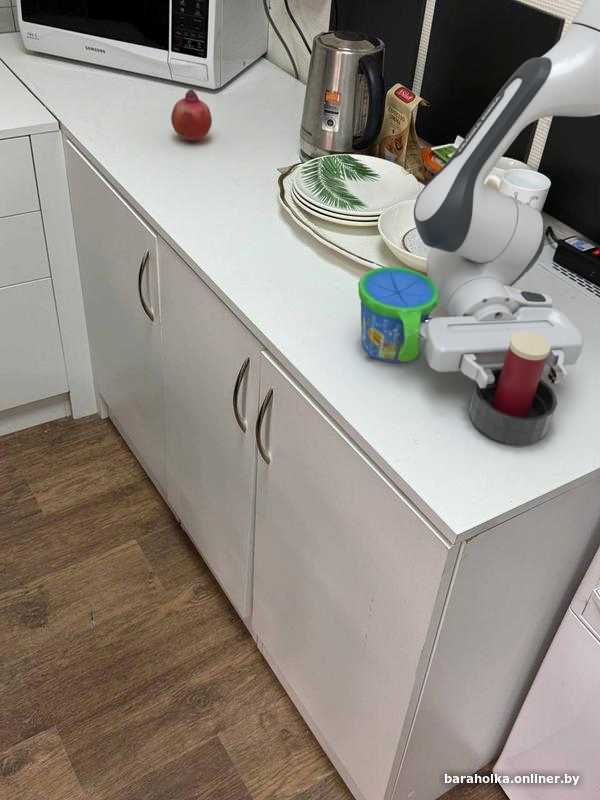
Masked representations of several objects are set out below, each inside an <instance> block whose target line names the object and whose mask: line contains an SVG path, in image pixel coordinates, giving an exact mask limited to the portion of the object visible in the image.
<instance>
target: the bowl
mask: <svg viewBox="0 0 600 800" xmlns="http://www.w3.org/2000/svg"><path fill="white" fill-rule="evenodd" d="M491 371H492V374H494V376H495V381H494V383H493V387H492V388H480V387H479V385H478V383H477V381H475V386H474V389H473V393H472V396H471V400H470V403H469V409H468V411H469V412H468V413H469V417H470V419H471V421H472V423H473V425H475V426H476V428H477V429H478V430H479V431H480V432H481V433H482V434H484V435H485V436H487V437H488V438H490V439H492V440H494V441H496V442H499V443H502V444H506V445H512V446H513V445H514V446H522V445H528V444H531V443H534V442H537V441H539V440H541V439H542V438H544V436H546V435H547V433H548V430H549V428H550V425H551V422H552V419H553V417H554V414H555V412H556V408H557V406H558V401H557V400H558V399H557V395H556V393H555V391H554V390H553V388H551V386H550V385H549V384H548V383H546V382H545V381H544V380H543V379H541V378H540V380H539V383H538V386H537V389H536V392H535V395H534V398H533V401H532V404H531V407H530V410H529V413H528V416H527V418H521V417H515V416H510V415H508V414H505V413H502V412H500V411H498V410H496V409H495V408H493V407H491V405H492V402H493V398H494V395H495V392H496V388H497V385H498V381H499V378H500V375H501V371H502V368H501V369H491Z"/></svg>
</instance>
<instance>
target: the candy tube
mask: <svg viewBox="0 0 600 800" xmlns="http://www.w3.org/2000/svg"><path fill="white" fill-rule="evenodd" d="M550 349H551V346H550V343H549V342H548V341H547V340H546V339H545V338H544V337H542V336H540V335H538V334H535V333H531V332H519V333H516V334H514V335H513V336H512V337H511V340H510V343H509V348H508V351H507V355H506V358H505V361H504V365H503V368H501V369H502V371H501V375H500V378H499V381H498V385H497V388H496V392H495V395H494V398H493V402H492V405H491V407H493V408H495V409H496V410H498V411H500V412H502V413H505V414H508V415H510V416H515V417H521V418H527V416H528V413H529V410H530V407H531V404H532V401H533V398H534V395H535V392H536V389H537V386H538V383H539V380H540V379H541V377H542V374H543V371H544V368H545V367H546V366H545V363H546V360H547V357H548V355H549V352H550Z"/></svg>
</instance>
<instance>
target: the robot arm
mask: <svg viewBox="0 0 600 800" xmlns="http://www.w3.org/2000/svg"><path fill="white" fill-rule="evenodd" d="M598 115H600V0H583V2H582V4H581V6H580V7H579V8H578V11H577V12H576V14H575V15H574V17H573V19H572V20H571V23H570V24H569V26H568V28H567V29H566V31H565V33H563V36H562V37H561V38H560V39H559V40H558V41H557V42H556V44H554V46H552V48H551V49H549V50H548V51H547V52H546V53H545V54H543V55H542V56H539V57H532V58H529V59H528V60H526V61H524V62H523V63H522V64H521V65H520V66H519V67H518V68H517V69H516V70H515V72H514V73H513V74H512V75H510V77H509V78H508V80H507V81H506V82H505V83H504V85H503V86H502V87H501V88H500V89H499V91H498V93H497V94H496V95H495V97H494V98H493V99H492V100H491V102H490V103H489V104H488V106H487V107H486V108H485V110H484V111H483V113H482V114H481V115H480V117H479V118H478V119H477V121H476V122H475V123H474V125H473V127H472V128H471V129H470V131H469V132H468V133H467V135H466V136H465V138H464V139H463V140H462V142H460V144H459V146H458V147H457V148H456V150H455V151H454V152H453V154H452V155H451V156H450V158H449V159H448V160H447V162H446V163H445V164H444V165H442V167H441V168H440V169H439V170H438V171H437V172H436V173H435V175H433V176H432V177H431V179H430V180H429V181H428V182H427V183H426V184H425V185H424V187H423V188H422V190H421V191H420V193H419V194H418V196H417V198H416V200H415V203H414V207H413V219H414V224H415V227H416V231H417V232H418V235H419V237H420V239H421V241H422V242H423V244H424V245H425V246H426V247H430V250H429V252H428V253H427V258H426V275H427V277H428V278H429V279H430V280H431V281H432V282H433V283H434V284H435V285H436V287H437V289H438V298H439V300H438V304H439V305H440V307H441V308H443V310H444V311H445V314H446V316H439V317H428V318H425V319H423V321H421V322H420V331H419V338H420V340H421V341H423V349H424V354H425V358H426V360H427V364H428V366H429V368H431V369H432V370H434V371H436V372H439V373H446V372H461V373H462V374H463V375H465V376H466V377H468V378H470V379H471V380H473V381H475V382H477V383H478V385H479V387H480V388H492V387H493V383H494V381H495V376H494V374H492V370H495V369H502V368H503V365H504V361H505V358H506V355H507V351H508V348H509V343H510V340H511V337H512V336H513V335H514V334H516V333H519V332H531V333H535V334H538V335H540V336H542V337H544V338H545V339H546V340H547V341H548V342H549V343H550V346H551V349H550V352H549V355H548V357H547V360H546V363H545V366H544V367H548V368H549V372H548V374H547V378H548V380H549V381H550V382H551V384H552V385H556V384H565V383H566V381H567V378H568V371H567V370H566V369H565V367H564V366H571V365H572V366H573V365H575V364H576V363H577V362H578V360H579V358H580V355H581V353H582V350H583V347H584V342H585V341H584V337H583V336H582V334H581V332H580V331H579V329H578V328H577V327H576V326H575V325H574V323H573V322H572V321H571V320H570V318H568V316H567V315H566V314H564V313H563V312H562V311H560V310H558V308H557V309H556V308H554V300H553V298H552V297H551V296H550V295H548V294H546V293H539V292H533V291H527V290H524V289H523V290H522V289H519V288H516V287H513V286H514V284H516V283H517V282H518V281H519V280H520V279H521V278H522V277H523V276H525V275H526V273H528V272H529V271H530V270H531V269H532V268H533V266H534V265H535V264H536V263H537V261H538V260H539V258H540V257H541V255H542V252H543V251H544V247H545V243H546V242H545V241H546V225H545V224H546V223H545V219H544V217H543V215H542V213H541V211H540V210H539V209H538V208H536V207H534V206H532V205H530V204H528V203H526V202H524V201H522V200H519V199H518V198H515V197H513V196H511V195H507V194H506V193H503V192H501V191H499V190H497V189H494V188H493V187H490V186H489V185H486V184H485V181H486V179H487V177H488V176H489V175H490V173H491V172H492V170H493V169H494V168H495V167H496V165H497V163H498V162H499V161H500V160H501V159H502V157H503V156H504V154H505V153H506V152H507V151H508V149H509V148H510V146H511V145H512V143H514V141H515V140H516V139H517V137H518V136H519V135H520V133H521V132H522V131H523V130H524V129H525V128H526V127H528V126H529V125H530V124H531V123H534V122H535V121H537V120H540V119H545V118H549V117H575V118H586V117H587V118H588V117H593V116H598Z"/></svg>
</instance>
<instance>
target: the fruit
mask: <svg viewBox="0 0 600 800" xmlns="http://www.w3.org/2000/svg"><path fill="white" fill-rule="evenodd" d="M170 121H171V125H172V127H173V129H174V132H175V133H176V134H177V135H178V136H179V137H181V138H183V139H185V140H188V141H193V142H195V141H200V140H201V139H203V138H204V137H205V136H207V135H208V133H209V131H210V130H211V127H212V125H213V118H212V114H211V111H210V108H209V106H208V105H207V104H206V102H204V101H203V100H201V99H199V96H198V95H197V92H196V91H194V90H193V89H191V88H190V89H187V92H186V93H185V95H184V97H183V98H180V100H178V101H176V103H175V104H174V105H173V108H172V111H171V115H170Z"/></svg>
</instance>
